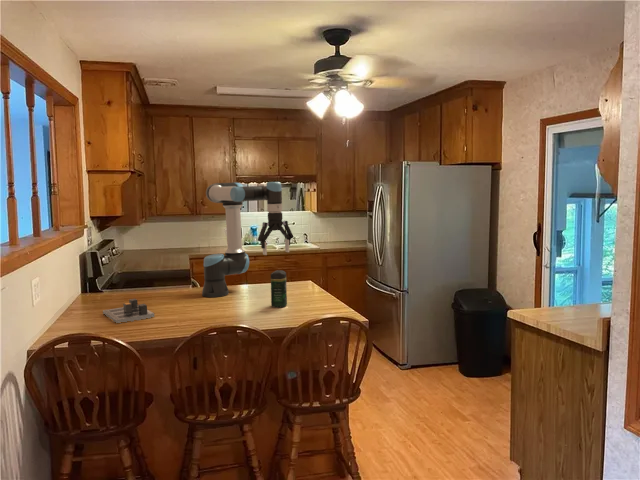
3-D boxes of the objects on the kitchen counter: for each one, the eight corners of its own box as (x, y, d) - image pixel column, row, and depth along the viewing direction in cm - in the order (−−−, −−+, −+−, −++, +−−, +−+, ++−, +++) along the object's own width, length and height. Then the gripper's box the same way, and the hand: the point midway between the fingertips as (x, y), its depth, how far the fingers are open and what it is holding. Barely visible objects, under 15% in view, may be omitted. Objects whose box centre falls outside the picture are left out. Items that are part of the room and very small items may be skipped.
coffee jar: (285, 308, 262) (284, 272, 259) (270, 308, 262) (268, 272, 260) (288, 303, 271) (287, 269, 269) (273, 303, 272) (272, 269, 270)
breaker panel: (103, 314, 258) (102, 302, 258) (139, 308, 269) (138, 297, 268) (116, 324, 239) (115, 311, 238) (154, 317, 250) (153, 305, 249)
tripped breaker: (123, 311, 254) (123, 303, 254) (129, 310, 256) (129, 302, 256) (126, 313, 251) (125, 304, 251) (132, 311, 253) (131, 303, 253)
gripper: (257, 213, 250) (258, 256, 253) (299, 211, 265) (300, 251, 268) (249, 213, 256) (251, 255, 259) (291, 210, 271) (292, 250, 274)
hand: (276, 253), depth 263 cm, fingers open, 13 cm apart
